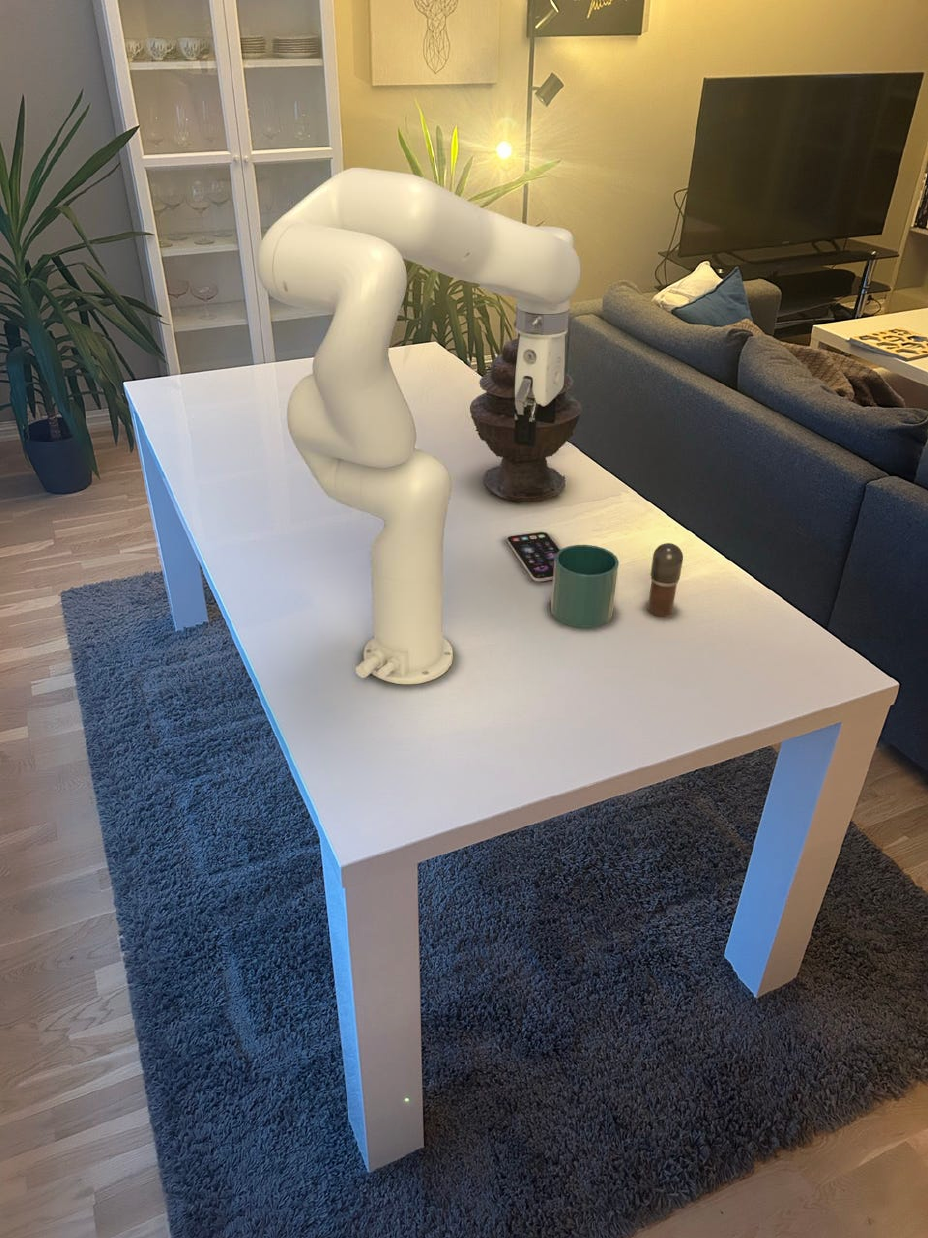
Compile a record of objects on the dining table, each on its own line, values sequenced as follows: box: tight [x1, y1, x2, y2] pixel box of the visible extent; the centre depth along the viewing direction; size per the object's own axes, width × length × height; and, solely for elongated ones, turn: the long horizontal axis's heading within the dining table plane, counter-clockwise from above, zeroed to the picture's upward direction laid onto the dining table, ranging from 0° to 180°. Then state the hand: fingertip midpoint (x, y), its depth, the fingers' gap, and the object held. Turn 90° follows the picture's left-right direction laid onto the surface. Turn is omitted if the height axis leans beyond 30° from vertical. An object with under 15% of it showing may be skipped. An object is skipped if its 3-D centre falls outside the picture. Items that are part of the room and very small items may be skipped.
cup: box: [550, 544, 620, 629], centre depth 144 cm, size 9×9×9 cm
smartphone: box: [506, 531, 561, 582], centre depth 159 cm, size 8×1×15 cm
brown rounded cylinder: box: [646, 542, 684, 617], centre depth 144 cm, size 4×4×11 cm
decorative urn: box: [469, 319, 582, 503], centre depth 173 cm, size 20×20×35 cm
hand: (534, 432), depth 146 cm, fingers open, 9 cm apart
